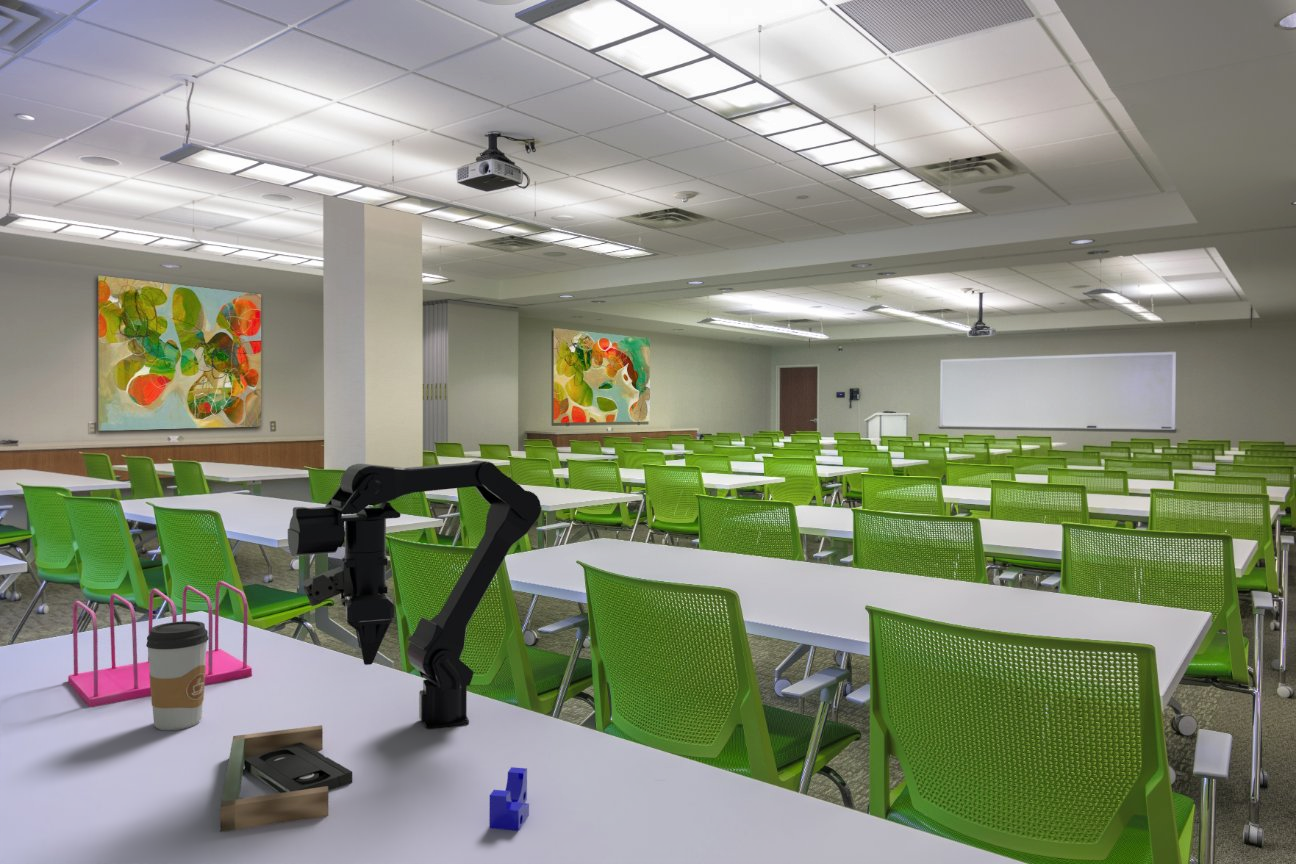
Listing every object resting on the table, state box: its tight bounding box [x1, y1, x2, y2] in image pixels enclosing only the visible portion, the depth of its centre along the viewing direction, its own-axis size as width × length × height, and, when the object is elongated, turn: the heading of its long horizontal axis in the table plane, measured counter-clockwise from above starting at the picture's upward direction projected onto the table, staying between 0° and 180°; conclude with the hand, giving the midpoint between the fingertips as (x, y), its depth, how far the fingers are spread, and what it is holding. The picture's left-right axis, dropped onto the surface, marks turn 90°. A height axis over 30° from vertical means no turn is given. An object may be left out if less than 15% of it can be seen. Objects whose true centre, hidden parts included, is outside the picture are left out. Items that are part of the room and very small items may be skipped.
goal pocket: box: [219, 724, 329, 833], centre depth 111 cm, size 12×23×3 cm, turn 22°
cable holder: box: [488, 766, 530, 832], centre depth 104 cm, size 8×4×4 cm, turn 171°
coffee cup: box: [145, 620, 209, 731], centre depth 131 cm, size 8×8×15 cm
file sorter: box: [67, 580, 253, 708], centre depth 152 cm, size 17×25×16 cm
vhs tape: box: [244, 742, 353, 793], centre depth 113 cm, size 14×8×2 cm, turn 48°
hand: (365, 655), depth 127 cm, fingers open, 9 cm apart
